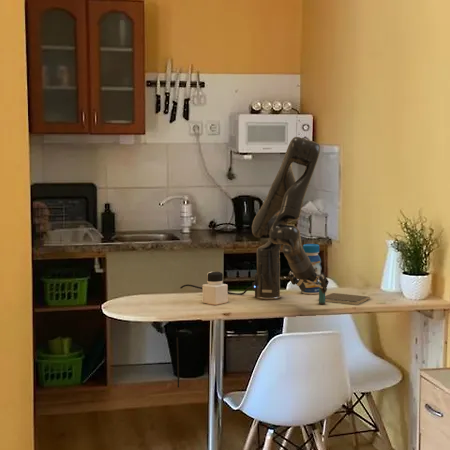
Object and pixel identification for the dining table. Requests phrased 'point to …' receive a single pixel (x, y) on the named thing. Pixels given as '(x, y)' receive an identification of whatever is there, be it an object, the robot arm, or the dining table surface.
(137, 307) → the dining table surface
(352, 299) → the brown flat rectangular slab
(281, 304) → the dining table surface
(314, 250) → the beverage bottle
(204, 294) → the medicine bottle
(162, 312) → the dining table surface
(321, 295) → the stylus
